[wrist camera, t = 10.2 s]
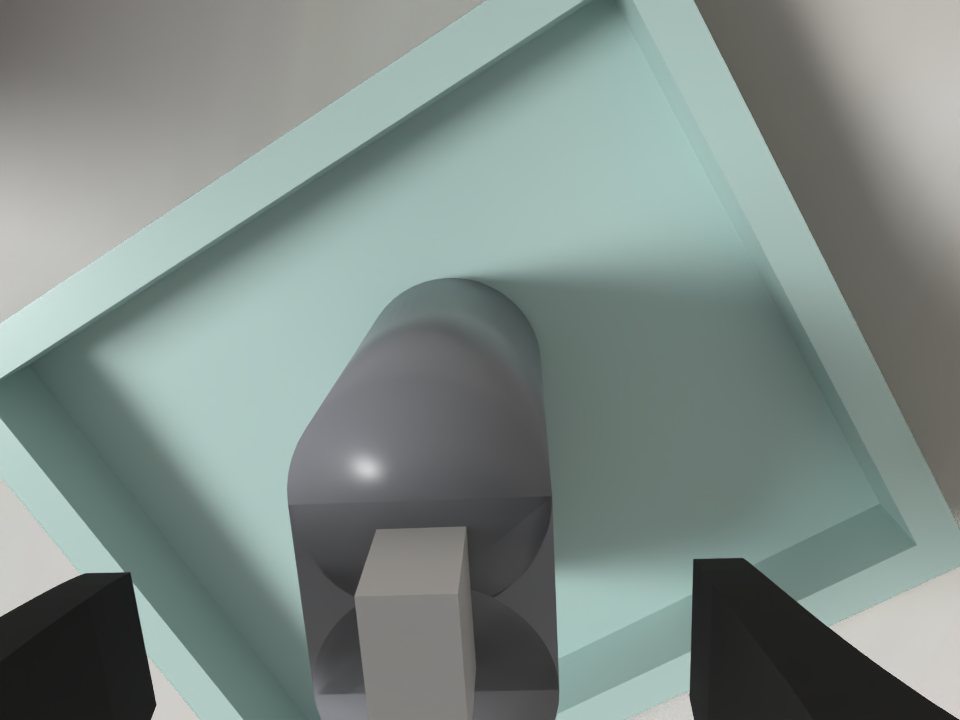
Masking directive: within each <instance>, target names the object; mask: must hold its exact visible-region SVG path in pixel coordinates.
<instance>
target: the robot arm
mask: <svg viewBox="0 0 960 720" xmlns="http://www.w3.org/2000/svg"><path fill="white" fill-rule="evenodd" d="M690 702H691V707H692V711H693V716H694V720H959V719H957V718H956V717H954V716H953V715H951V714H949V713H948V712H946V711H945V710H943V709H942V708H940V707H938V706H937V705H935V704H934V703H932V702H931V701H929V700H928V699H926V698H925V697H923V696H922V695H921V694H919V693H918V692H916V691H915V690H913V689H912V688H910V687H909V686H908V685H906V684H905V683H903V682H902V681H900V680H899V679H897V678H896V677H895V676H893V675H892V674H890V673H889V672H887V671H886V670H884V669H883V668H882V667H880V666H879V665H877V664H876V663H875V662H873V661H872V660H871V659H869V658H868V657H867V656H865V655H864V654H863V653H861V652H860V651H858V650H857V649H856V648H855V647H853V646H852V645H851V644H849V643H848V642H847V641H845V640H844V639H843V638H841V637H840V636H839V635H838V634H836V633H835V632H834V631H833V630H831V629H830V628H829V627H827V626H826V625H825V624H824V623H822V622H821V621H820V620H819V619H817V618H816V617H815V616H814V615H812V614H811V613H810V612H809V611H808V610H806V609H805V608H804V607H803V606H801V605H800V604H799V603H798V602H797V601H795V600H794V599H793V598H792V597H791V596H789V595H788V594H787V593H786V592H785V591H783V590H782V589H781V588H780V587H779V586H777V585H776V584H775V583H774V582H773V581H771V580H770V579H769V578H768V577H767V576H765V575H764V574H763V573H762V572H760V571H759V570H758V569H757V568H756V567H754V566H753V565H752V564H751V563H749V562H748V561H747V560H745V559H744V558H711V559H693V588H692V625H691V661H690ZM155 707H156V701H155V695H154V690H153V685H152V680H151V675H150V670H149V665H148V659H147V654H146V649H145V644H144V639H143V634H142V628H141V623H140V618H139V613H138V608H137V603H136V598H135V592H134V587H133V582H132V577H131V572H115V573H84V574H82V575H80V576H77V577H75V578H73V579H70V580H68V581H66V582H64V583H62V584H60V585H58V586H56V587H54V588H52V589H50V590H48V591H46V592H45V593H43V594H41V595H39V596H37V597H35V598H33V599H32V600H30V601H28V602H26V603H24V604H23V605H21V606H19V607H17V608H15V609H14V610H12V611H10V612H8V613H7V614H5V615H3V616H1V617H0V720H151V718H152V715H153V712H154V710H155Z"/></svg>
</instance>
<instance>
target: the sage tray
mask: <svg viewBox="0 0 960 720" xmlns="http://www.w3.org/2000/svg"><path fill="white" fill-rule="evenodd" d="M442 278H460V279H467V280H472V281H476V282H479V283H483V284H485V285H487V286H490V287H492V288H494V289H496V290H497V291H499V292H501V293H502V294H504V295H505V296H506V297H508V298H509V299H510V300H511V301H513V302H514V303H515V304H516V305H517V307H518V308H519V309H520V310H521V311H522V312H523V314H524V315H525V316H526V318H527V319H528V321H529V323H530V324H531V326H532V328H533V330H534V333H535V335H536V338H537V341H538V345H539V349H540V358H541V369H542V381H543V393H544V405H545V417H546V429H547V441H548V453H549V464H550V476H551V488H552V505H553V532H554V559H555V585H556V612H557V639H558V666H559V705H558V710H557V715H556V719H555V720H627V719H629V718H631V717H633V716H635V715H637V714H640V713H642V712H644V711H646V710H648V709H651V708H653V707H655V706H657V705H659V704H661V703H664V702H666V701H668V700H670V699H672V698H674V697H677V696H679V695H681V694H683V693H685V692H687V691H690V661H691V625H692V588H693V559H711V558H744V559H745V560H747V561H748V562H749V563H751V564H752V565H753V566H754V567H756V568H757V569H758V570H759V571H760V572H762V573H763V574H764V575H765V576H767V577H768V578H769V579H770V580H771V581H773V582H774V583H775V584H776V585H777V586H779V587H780V588H781V589H782V590H783V591H785V592H786V593H787V594H788V595H789V596H791V597H792V598H793V599H794V600H795V601H797V602H798V603H799V604H800V605H801V606H803V607H804V608H805V609H806V610H808V611H809V612H810V613H811V614H812V615H814V616H815V617H816V618H817V619H819V620H820V621H821V622H822V623H824V624H825V625H826V626H827V627H829V626H831V625H833V624H835V623H837V622H840V621H842V620H844V619H846V618H848V617H850V616H853V615H855V614H857V613H859V612H861V611H864V610H866V609H868V608H870V607H872V606H874V605H877V604H879V603H881V602H883V601H885V600H887V599H890V598H892V597H894V596H896V595H898V594H900V593H903V592H905V591H907V590H909V589H911V588H914V587H916V586H918V585H920V584H922V583H924V582H927V581H929V580H931V579H933V578H935V577H937V576H940V575H942V574H944V573H946V572H948V571H950V570H953V569H955V568H957V567H959V566H960V528H959V526H958V524H957V522H956V520H955V518H954V516H953V514H952V512H951V510H950V508H949V506H948V504H947V502H946V500H945V498H944V496H943V494H942V492H941V490H940V488H939V486H938V484H937V482H936V480H935V478H934V476H933V474H932V472H931V470H930V468H929V466H928V464H927V462H926V461H925V459H924V457H923V455H922V453H921V451H920V449H919V447H918V445H917V443H916V441H915V439H914V437H913V435H912V433H911V431H910V429H909V427H908V425H907V423H906V421H905V419H904V417H903V415H902V413H901V411H900V409H899V407H898V405H897V403H896V401H895V399H894V397H893V395H892V393H891V391H890V389H889V387H888V385H887V383H886V381H885V379H884V377H883V375H882V373H881V371H880V369H879V367H878V365H877V363H876V361H875V359H874V357H873V355H872V353H871V351H870V349H869V347H868V345H867V343H866V341H865V339H864V337H863V335H862V333H861V331H860V329H859V327H858V325H857V324H856V322H855V320H854V318H853V316H852V314H851V312H850V310H849V308H848V306H847V304H846V302H845V300H844V298H843V296H842V294H841V292H840V290H839V288H838V286H837V284H836V282H835V280H834V278H833V276H832V274H831V272H830V270H829V268H828V266H827V264H826V262H825V260H824V258H823V256H822V254H821V252H820V250H819V248H818V246H817V244H816V242H815V240H814V238H813V236H812V234H811V232H810V230H809V228H808V226H807V224H806V222H805V220H804V218H803V216H802V214H801V212H800V210H799V208H798V206H797V204H796V202H795V200H794V198H793V196H792V194H791V192H790V190H789V188H788V187H787V185H786V183H785V181H784V179H783V177H782V175H781V173H780V171H779V169H778V167H777V165H776V163H775V161H774V159H773V157H772V155H771V153H770V151H769V149H768V147H767V145H766V143H765V141H764V139H763V137H762V135H761V133H760V131H759V129H758V127H757V125H756V123H755V121H754V119H753V117H752V115H751V113H750V111H749V109H748V107H747V105H746V103H745V101H744V99H743V97H742V95H741V93H740V91H739V89H738V87H737V85H736V83H735V81H734V79H733V77H732V75H731V73H730V71H729V69H728V67H727V65H726V63H725V61H724V59H723V57H722V55H721V53H720V51H719V50H718V48H717V46H716V44H715V42H714V40H713V38H712V36H711V34H710V32H709V30H708V28H707V26H706V24H705V22H704V20H703V18H702V16H701V14H700V12H699V10H698V8H697V6H696V4H695V2H694V0H486V1H484V2H483V3H481V4H480V5H478V6H477V7H475V8H474V9H472V10H471V11H469V12H468V13H466V14H465V15H463V16H462V17H460V18H459V19H457V20H456V21H454V22H453V23H451V24H450V25H448V26H447V27H445V28H444V29H442V30H441V31H439V32H438V33H436V34H435V35H433V36H432V37H430V38H429V39H427V40H426V41H424V42H423V43H421V44H420V45H418V46H417V47H415V48H414V49H412V50H411V51H409V52H408V53H406V54H405V55H403V56H402V57H400V58H399V59H397V60H396V61H394V62H393V63H391V64H390V65H388V66H387V67H385V68H384V69H382V70H381V71H379V72H378V73H376V74H375V75H373V76H372V77H370V78H369V79H367V80H366V81H364V82H363V83H361V84H360V85H358V86H357V87H355V88H354V89H352V90H351V91H349V92H348V93H346V94H345V95H343V96H342V97H340V98H339V99H337V100H336V101H334V102H333V103H331V104H330V105H328V106H326V107H325V108H323V109H322V110H320V111H319V112H317V113H316V114H314V115H313V116H311V117H310V118H308V119H307V120H305V121H304V122H302V123H301V124H299V125H298V126H296V127H295V128H293V129H292V130H290V131H289V132H287V133H286V134H284V135H283V136H281V137H280V138H278V139H277V140H275V141H274V142H272V143H271V144H269V145H268V146H266V147H265V148H263V149H262V150H260V151H259V152H257V153H256V154H254V155H253V156H251V157H250V158H248V159H247V160H245V161H244V162H242V163H241V164H239V165H238V166H236V167H235V168H233V169H232V170H230V171H229V172H227V173H226V174H224V175H223V176H221V177H220V178H218V179H217V180H215V181H214V182H212V183H211V184H209V185H208V186H206V187H205V188H203V189H202V190H200V191H199V192H197V193H196V194H194V195H193V196H191V197H190V198H188V199H187V200H185V201H184V202H182V203H181V204H179V205H178V206H176V207H175V208H173V209H172V210H170V211H169V212H167V213H166V214H164V215H163V216H161V217H160V218H158V219H156V220H155V221H153V222H152V223H150V224H149V225H147V226H146V227H144V228H143V229H141V230H140V231H138V232H137V233H135V234H134V235H132V236H131V237H129V238H128V239H126V240H125V241H123V242H122V243H120V244H119V245H117V246H116V247H114V248H113V249H111V250H110V251H108V252H107V253H105V254H104V255H102V256H101V257H99V258H98V259H96V260H95V261H93V262H92V263H90V264H89V265H87V266H86V267H84V268H83V269H81V270H80V271H78V272H77V273H75V274H74V275H72V276H71V277H69V278H68V279H66V280H65V281H63V282H62V283H60V284H59V285H57V286H56V287H54V288H53V289H51V290H50V291H48V292H47V293H45V294H44V295H42V296H41V297H39V298H38V299H36V300H35V301H33V302H32V303H30V304H29V305H27V306H26V307H24V308H23V309H21V310H20V311H18V312H17V313H15V314H14V315H12V316H11V317H9V318H8V319H6V320H5V321H3V322H2V323H0V477H1V478H2V480H3V481H4V482H5V483H6V484H7V486H8V487H9V488H10V489H11V491H12V492H13V493H14V494H15V495H16V497H17V498H18V499H19V500H20V501H21V503H22V504H23V505H24V506H25V508H26V509H27V510H28V511H29V512H30V514H31V515H32V516H33V517H34V518H35V520H36V521H37V522H38V523H39V525H40V526H41V527H42V528H43V529H44V531H45V532H46V533H47V534H48V535H49V537H50V538H51V539H52V540H53V542H54V543H55V544H56V545H57V546H58V548H59V549H60V550H61V551H62V553H63V554H64V555H65V556H66V557H67V559H68V560H69V561H70V562H71V563H72V565H73V566H74V567H75V568H76V570H77V571H78V572H79V573H80V574H81V575H82V574H84V573H115V572H131V577H132V582H133V587H134V592H135V598H136V603H137V608H138V613H139V618H140V623H141V628H142V634H143V639H144V644H145V649H146V654H147V656H148V657H149V658H150V659H151V661H152V662H153V663H154V664H155V666H156V667H157V668H158V669H159V670H160V672H161V673H162V674H163V675H164V676H165V678H166V679H167V680H168V681H169V683H170V684H171V685H172V686H173V687H174V689H175V690H176V691H177V692H178V694H179V695H180V696H181V697H182V698H183V700H184V701H185V702H186V703H187V704H188V706H189V707H190V708H191V709H192V711H193V712H194V713H195V714H196V715H197V717H198V718H199V719H200V720H321V718H320V715H319V712H318V710H317V706H316V701H315V697H314V690H313V683H312V676H311V669H310V661H309V654H308V647H307V640H306V632H305V625H304V618H303V611H302V603H301V596H300V589H299V582H298V574H297V567H296V560H295V553H294V545H293V538H292V531H291V524H290V516H289V509H288V498H287V482H288V472H289V467H290V463H291V459H292V456H293V453H294V451H295V448H296V445H297V443H298V441H299V439H300V438H301V436H302V434H303V432H304V431H305V429H306V427H307V426H308V424H309V423H310V421H311V420H312V418H313V417H314V415H315V413H316V412H317V410H318V409H319V407H320V406H321V404H322V403H323V401H324V400H325V398H326V396H327V395H328V393H329V392H330V390H331V389H332V387H333V386H334V384H335V383H336V381H337V379H338V378H339V376H340V375H341V373H342V372H343V370H344V369H345V367H346V366H347V364H348V362H349V361H350V359H351V358H352V356H353V355H354V353H355V352H356V350H357V349H358V347H359V345H360V344H361V342H362V341H363V339H364V338H365V336H366V335H367V333H368V332H369V330H370V328H371V327H372V325H373V324H374V322H375V321H376V319H377V318H378V316H379V315H380V313H381V312H382V311H383V310H384V308H385V307H386V306H387V305H388V304H389V303H390V302H391V301H392V300H393V299H394V298H395V297H397V296H398V295H399V294H401V293H402V292H404V291H406V290H407V289H409V288H411V287H413V286H415V285H418V284H420V283H423V282H426V281H430V280H434V279H442Z"/></svg>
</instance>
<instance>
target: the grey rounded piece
mask: <svg viewBox="0 0 960 720" xmlns="http://www.w3.org/2000/svg"><path fill="white" fill-rule="evenodd" d="M287 498H288V509H289V516H290V524H291V531H292V538H293V545H294V553H295V560H296V567H297V574H298V582H299V589H300V596H301V603H302V611H303V618H304V625H305V632H306V640H307V647H308V654H309V661H310V669H311V676H312V683H313V690H314V697H315V701H316V706H317V710H318V712H319V715H320V718H321V720H555V719H556V715H557V710H558V705H559V666H558V639H557V612H556V585H555V559H554V532H553V505H552V488H551V476H550V464H549V453H548V441H547V429H546V417H545V405H544V393H543V381H542V369H541V358H540V349H539V345H538V341H537V338H536V335H535V333H534V330H533V328H532V326H531V324H530V323H529V321H528V319H527V318H526V316H525V315H524V314H523V312H522V311H521V310H520V309H519V308H518V307H517V305H516V304H515V303H514V302H513V301H511V300H510V299H509V298H508V297H506V296H505V295H504V294H502V293H501V292H499V291H497V290H496V289H494V288H492V287H490V286H487V285H485V284H483V283H479V282H476V281H472V280H467V279H460V278H442V279H434V280H430V281H426V282H423V283H420V284H418V285H415V286H413V287H411V288H409V289H407V290H406V291H404V292H402V293H401V294H399V295H398V296H397V297H395V298H394V299H393V300H392V301H391V302H390V303H389V304H388V305H387V306H386V307H385V308H384V310H383V311H382V312H381V313H380V315H379V316H378V318H377V319H376V321H375V322H374V324H373V325H372V327H371V328H370V330H369V332H368V333H367V335H366V336H365V338H364V339H363V341H362V342H361V344H360V345H359V347H358V349H357V350H356V352H355V353H354V355H353V356H352V358H351V359H350V361H349V362H348V364H347V366H346V367H345V369H344V370H343V372H342V373H341V375H340V376H339V378H338V379H337V381H336V383H335V384H334V386H333V387H332V389H331V390H330V392H329V393H328V395H327V396H326V398H325V400H324V401H323V403H322V404H321V406H320V407H319V409H318V410H317V412H316V413H315V415H314V417H313V418H312V420H311V421H310V423H309V424H308V426H307V427H306V429H305V431H304V432H303V434H302V436H301V438H300V439H299V441H298V443H297V445H296V448H295V451H294V453H293V456H292V459H291V463H290V467H289V472H288V482H287Z"/></svg>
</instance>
